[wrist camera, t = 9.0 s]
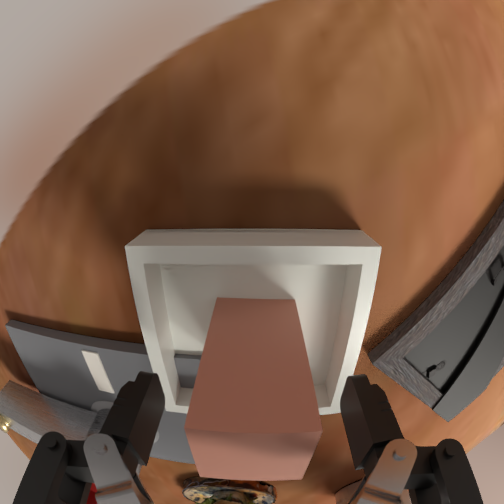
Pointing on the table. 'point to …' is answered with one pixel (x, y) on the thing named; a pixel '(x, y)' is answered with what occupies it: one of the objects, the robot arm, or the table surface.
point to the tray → (254, 294)
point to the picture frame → (453, 331)
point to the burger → (227, 491)
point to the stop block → (253, 394)
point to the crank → (46, 415)
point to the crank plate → (99, 376)
